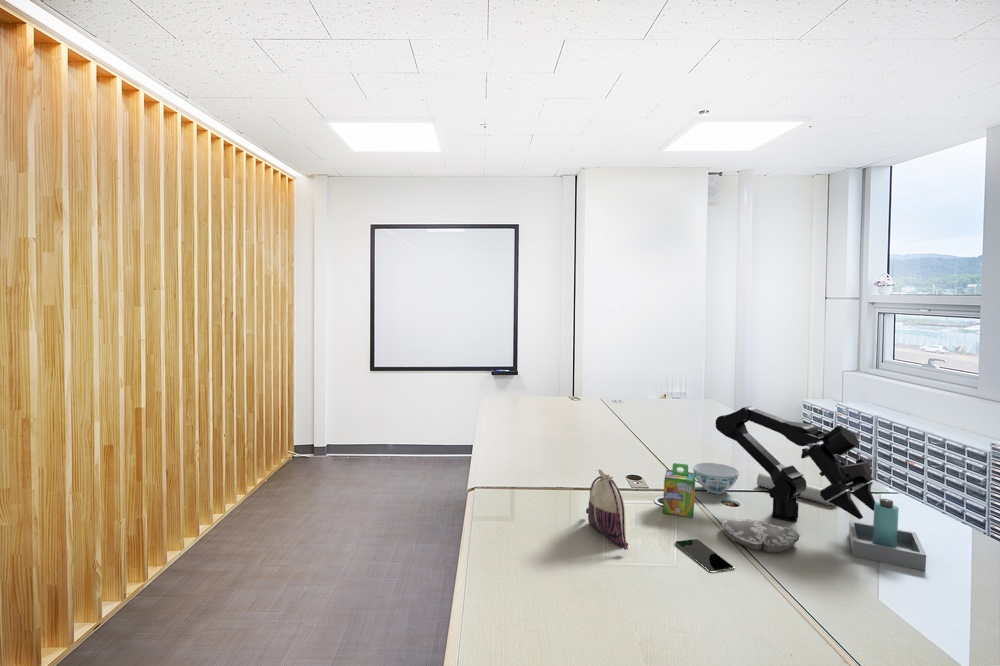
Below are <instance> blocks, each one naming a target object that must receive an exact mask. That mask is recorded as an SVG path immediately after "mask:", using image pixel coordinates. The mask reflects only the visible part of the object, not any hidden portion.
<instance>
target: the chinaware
mask: <svg viewBox="0 0 1000 666" xmlns="http://www.w3.org/2000/svg"><path fill="white" fill-rule="evenodd" d="M692 471H693V472H692V473H695V475H696V477H695V480H697V482H698V483H699V484H700V485H701V486H702V487H703V488H704V491H705V490H707V491H709V492H711V493H710V494H713V493H716V494H715V495H723V494H725V493H726V491H728V490H729V489H730V488H732V487H733V486H734V485H735V484H736V482H737V480H738V478H739V474H740V471H739V470H738V469H737V468H736V467H734V466H730V465H727V464H722V463H715V462H699V463H695V464H693V465H692ZM707 491H706V492H707ZM709 492H708V493H709ZM722 493H723V494H722Z"/></svg>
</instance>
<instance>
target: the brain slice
mask: <svg viewBox="0 0 1000 666" xmlns="http://www.w3.org/2000/svg"><path fill="white" fill-rule="evenodd" d="M721 529H722V530H723V531H724V533H725V535H726V536H727V537H728V539H730V540H731V541H732V542H734V543H738V544H740V545H742V546H744V547H747V548H749V549H750V550H756V551H759V552H760V551H764V552H766V553H781V552H783V551H784V552H785V551H787V550H789V549H792V547H793V546H794V545H795V544H796V543H797V542H798V541H799V539H800V537H801V536H800V534H799V533H798V532H797V531H796V530H795V529H793V528H790V527H787V526H786V527H785V526H780V525H774V524H771V523H769V522H768V523H767V522H766V521H762V520H754V519H749V518H747V519H732V518H725V519H723V520H722V522H721Z"/></svg>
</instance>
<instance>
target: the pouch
mask: <svg viewBox="0 0 1000 666" xmlns="http://www.w3.org/2000/svg"><path fill="white" fill-rule="evenodd" d="M597 471H598V474H599V476H597V477H596V478H595V479H594V480H593V482H592V483H591V486H590V489H589V491H590V492H589V498H588V499H589V500H588V507H587V508H586V509H585V514H587V520H588V521H587V522H588V523H589V524H590V525H591V527H594V528H595V529H597V531H599V532H600V533H601V534H603V535H604V536H606V537H607V538H608V539H610V540H611V541H613V542H614V543H615V544H616V545H618V546H619V547H622V548H623V550H629V548H628V546H629V543H628V542H627V540H626V539H627V538H626V537H627V534H626V532H627V531H626V530H627V529H626V528H627V527H626V510H625V509H626V508H625V506H626V505H625V501H624V498H623V495H622V492H620V489H619V488H618V486H617V484H616V482H615V481H614V480H613V479H614V476H610V474H606V473H604V472H603V470H602V469H600V468H599V469H598V470H597Z"/></svg>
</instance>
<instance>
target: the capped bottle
mask: <svg viewBox="0 0 1000 666" xmlns="http://www.w3.org/2000/svg"><path fill="white" fill-rule="evenodd" d="M899 510H900V509H899V507H898V506H896V505H895V504H894V501H893V500H891V499H890V498H889V499H888V498H880V499H879V502H876V503H875V504H874V511H873V523H872V525H873V542H872V543H873V544H879V545H884V546H889V547H894V548H897V531H898V528H899V527H898V526H899Z"/></svg>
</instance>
